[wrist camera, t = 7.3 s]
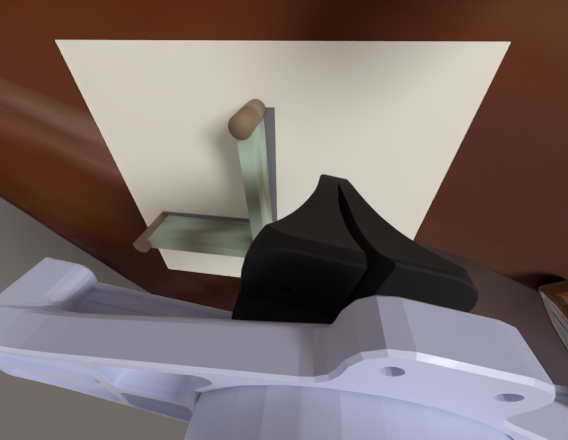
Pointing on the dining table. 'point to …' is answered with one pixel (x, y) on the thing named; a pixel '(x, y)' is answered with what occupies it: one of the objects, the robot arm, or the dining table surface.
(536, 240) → the dining table surface
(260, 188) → the hinged fence section
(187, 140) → the board
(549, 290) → the tin
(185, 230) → the fixed fence section
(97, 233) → the dining table surface
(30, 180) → the dining table surface
